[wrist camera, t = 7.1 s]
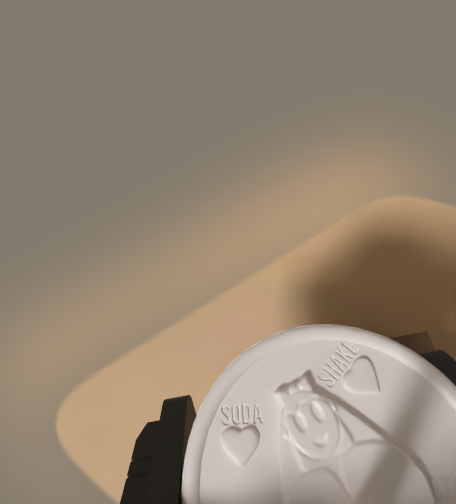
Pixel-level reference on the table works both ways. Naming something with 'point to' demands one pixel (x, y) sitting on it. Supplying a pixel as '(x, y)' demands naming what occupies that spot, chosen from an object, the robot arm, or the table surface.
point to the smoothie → (324, 424)
